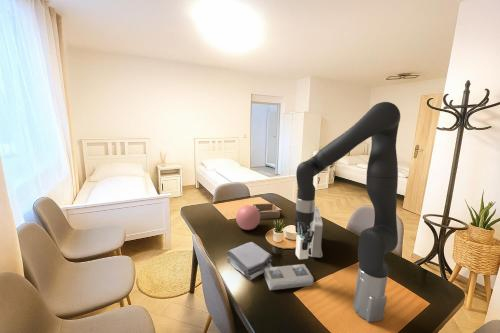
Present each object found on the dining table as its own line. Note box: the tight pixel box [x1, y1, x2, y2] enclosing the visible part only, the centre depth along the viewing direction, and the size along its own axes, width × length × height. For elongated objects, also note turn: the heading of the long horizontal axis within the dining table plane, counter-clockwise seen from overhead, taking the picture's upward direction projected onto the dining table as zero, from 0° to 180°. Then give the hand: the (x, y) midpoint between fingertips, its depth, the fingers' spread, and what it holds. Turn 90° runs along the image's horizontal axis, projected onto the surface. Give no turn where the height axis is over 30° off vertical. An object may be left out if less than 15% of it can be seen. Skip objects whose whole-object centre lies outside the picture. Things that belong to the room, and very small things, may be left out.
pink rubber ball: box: [235, 204, 261, 231], centre depth 145 cm, size 15×20×15 cm
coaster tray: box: [252, 202, 281, 220], centre depth 169 cm, size 16×16×5 cm
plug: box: [295, 234, 310, 260], centre depth 96 cm, size 4×4×10 cm
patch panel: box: [263, 263, 314, 291], centre depth 98 cm, size 10×19×4 cm, turn 101°
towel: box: [226, 241, 274, 281], centre depth 108 cm, size 15×18×8 cm
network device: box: [308, 206, 324, 258], centre depth 123 cm, size 26×9×20 cm, turn 168°
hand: (302, 246), depth 96 cm, fingers closed on plug, 4 cm apart
